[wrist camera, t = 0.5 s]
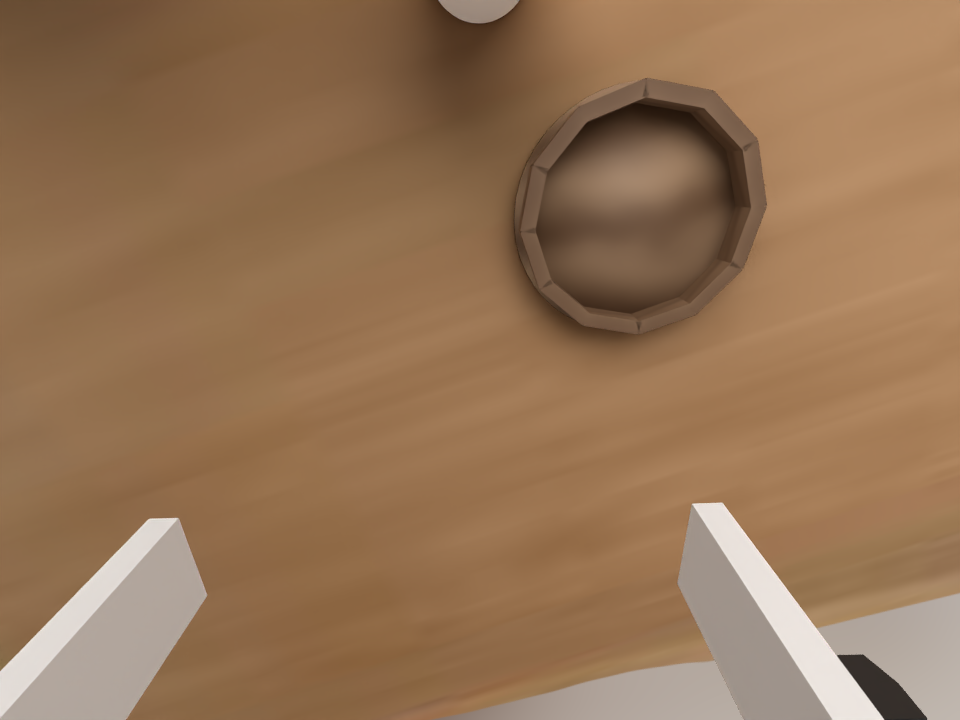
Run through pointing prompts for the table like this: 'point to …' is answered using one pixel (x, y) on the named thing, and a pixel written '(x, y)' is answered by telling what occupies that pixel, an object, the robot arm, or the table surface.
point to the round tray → (639, 205)
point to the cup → (478, 9)
